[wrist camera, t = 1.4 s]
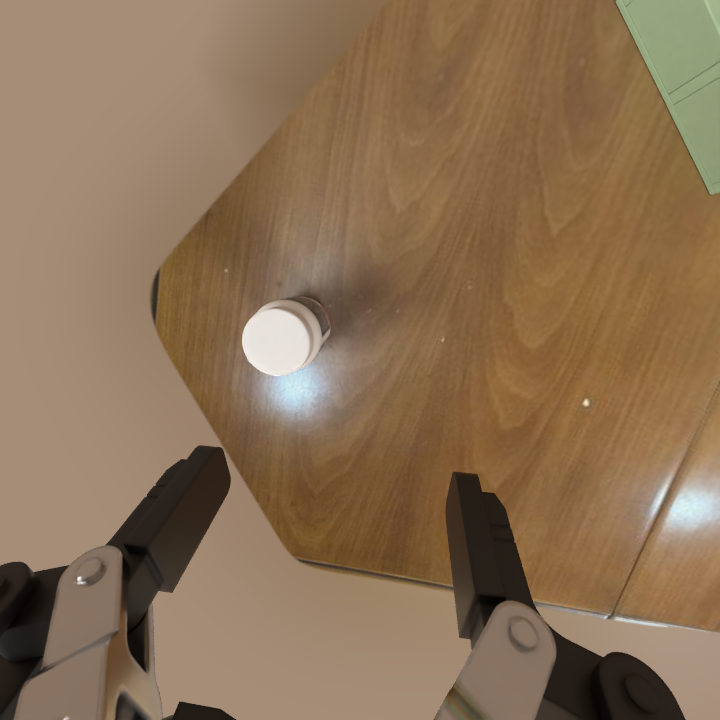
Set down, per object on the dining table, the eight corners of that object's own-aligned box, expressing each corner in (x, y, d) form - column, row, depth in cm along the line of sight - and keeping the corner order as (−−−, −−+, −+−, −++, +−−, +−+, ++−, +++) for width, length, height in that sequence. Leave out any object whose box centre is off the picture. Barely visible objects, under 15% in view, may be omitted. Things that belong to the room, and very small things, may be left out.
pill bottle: (277, 292, 27) (237, 293, 18) (335, 301, 27) (321, 307, 18) (271, 349, 28) (231, 374, 19) (327, 357, 28) (310, 387, 19)
